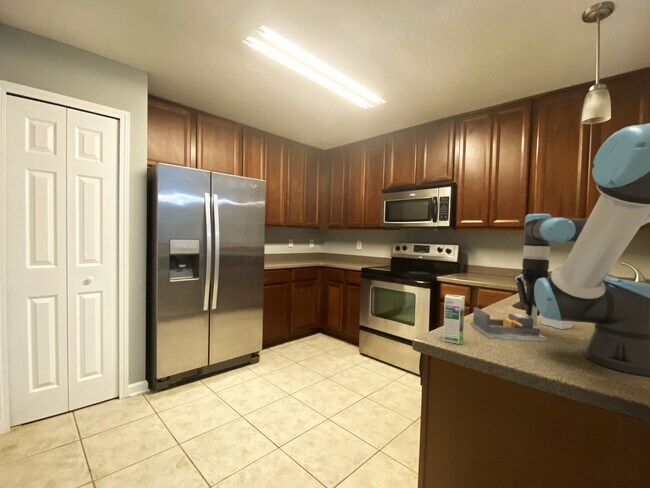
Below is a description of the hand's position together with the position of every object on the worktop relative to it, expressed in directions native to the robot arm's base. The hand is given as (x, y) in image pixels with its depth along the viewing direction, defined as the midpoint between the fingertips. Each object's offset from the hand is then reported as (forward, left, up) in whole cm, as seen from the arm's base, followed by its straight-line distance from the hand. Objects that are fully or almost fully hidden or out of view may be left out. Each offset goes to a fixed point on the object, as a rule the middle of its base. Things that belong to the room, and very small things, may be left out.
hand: (532, 324), depth 103 cm
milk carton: (+11, -16, -3) cm, 20 cm away
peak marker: (-3, +8, -2) cm, 8 cm away
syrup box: (-12, +31, -3) cm, 33 cm away
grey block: (0, +4, -2) cm, 4 cm away
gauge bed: (0, +9, -3) cm, 10 cm away
